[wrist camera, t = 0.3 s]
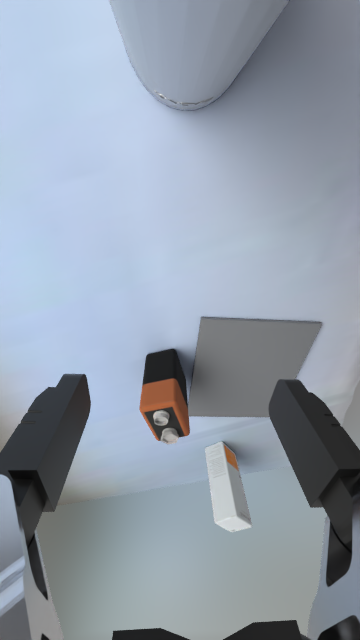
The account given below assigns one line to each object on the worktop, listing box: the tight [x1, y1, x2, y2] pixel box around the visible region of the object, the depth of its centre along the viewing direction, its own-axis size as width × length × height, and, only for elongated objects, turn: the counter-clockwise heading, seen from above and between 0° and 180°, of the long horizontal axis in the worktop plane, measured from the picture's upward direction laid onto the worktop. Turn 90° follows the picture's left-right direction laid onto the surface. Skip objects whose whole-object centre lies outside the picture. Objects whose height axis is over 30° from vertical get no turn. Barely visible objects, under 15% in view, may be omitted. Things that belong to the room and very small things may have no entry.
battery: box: [140, 349, 190, 444], centre depth 29 cm, size 4×7×10 cm, turn 14°
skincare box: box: [205, 441, 252, 532], centre depth 42 cm, size 6×4×12 cm
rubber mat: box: [188, 317, 322, 417], centre depth 35 cm, size 20×16×1 cm
